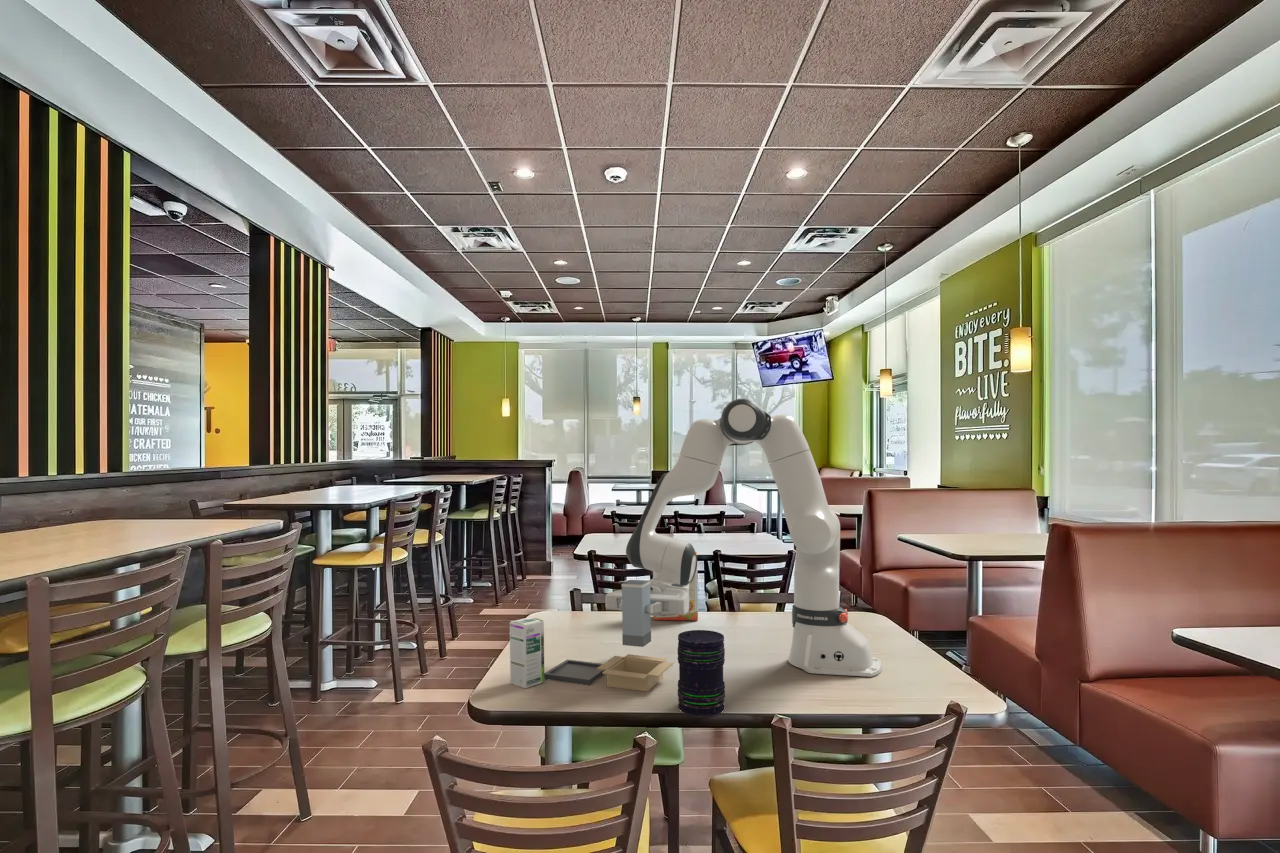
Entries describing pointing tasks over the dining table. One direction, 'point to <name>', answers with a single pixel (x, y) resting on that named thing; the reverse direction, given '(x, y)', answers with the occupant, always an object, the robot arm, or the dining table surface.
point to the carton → (634, 671)
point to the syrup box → (527, 652)
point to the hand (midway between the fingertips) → (634, 609)
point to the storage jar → (701, 673)
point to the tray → (575, 672)
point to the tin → (636, 613)
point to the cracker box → (693, 601)
